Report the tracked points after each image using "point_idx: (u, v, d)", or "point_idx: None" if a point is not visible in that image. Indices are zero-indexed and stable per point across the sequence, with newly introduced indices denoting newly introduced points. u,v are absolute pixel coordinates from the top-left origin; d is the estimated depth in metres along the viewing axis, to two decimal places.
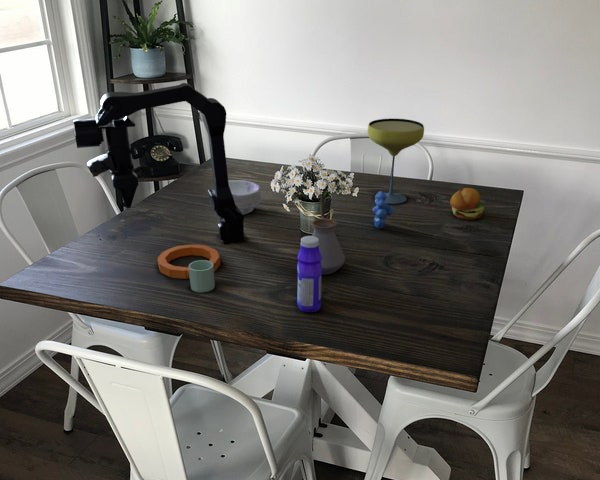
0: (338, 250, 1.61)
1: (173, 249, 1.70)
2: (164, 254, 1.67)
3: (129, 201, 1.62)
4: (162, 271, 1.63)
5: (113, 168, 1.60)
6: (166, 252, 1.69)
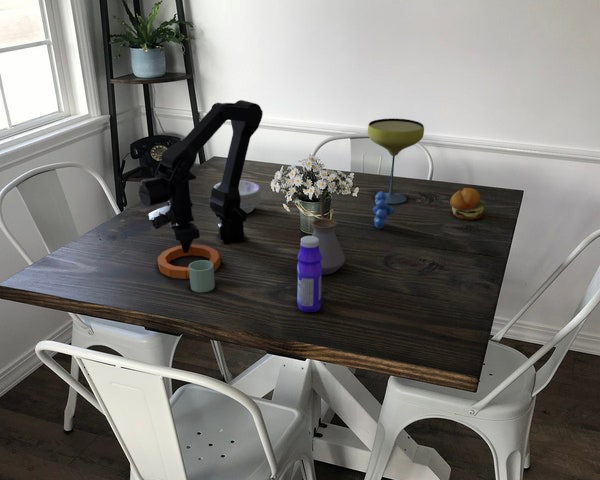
0: (338, 250, 1.61)
1: (173, 249, 1.70)
2: (164, 254, 1.67)
3: (186, 247, 1.70)
4: (162, 271, 1.63)
5: (174, 221, 1.65)
6: (166, 252, 1.69)
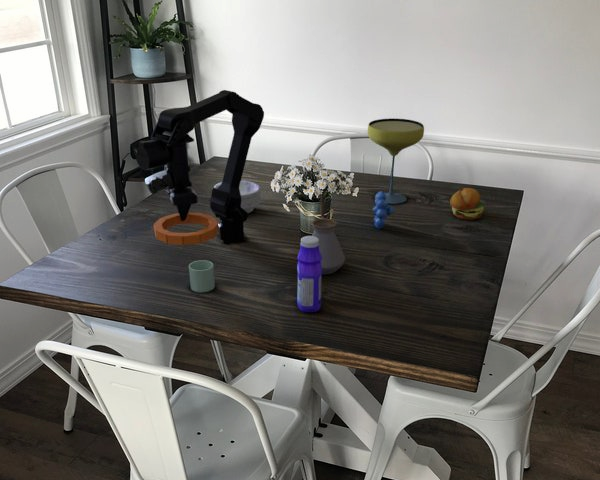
0: (338, 250, 1.61)
1: (170, 216, 1.64)
2: (161, 221, 1.61)
3: (184, 214, 1.64)
4: (158, 237, 1.56)
5: (171, 185, 1.58)
6: (163, 219, 1.62)
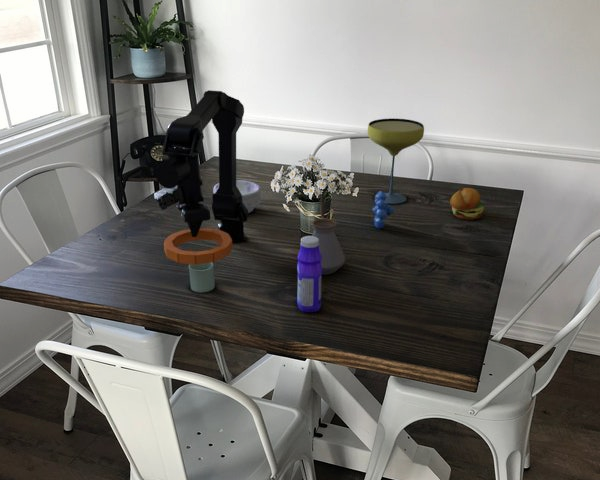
0: (338, 250, 1.61)
1: (180, 233, 1.55)
2: (171, 238, 1.52)
3: (195, 230, 1.55)
4: (169, 256, 1.47)
5: (182, 201, 1.49)
6: (173, 236, 1.53)
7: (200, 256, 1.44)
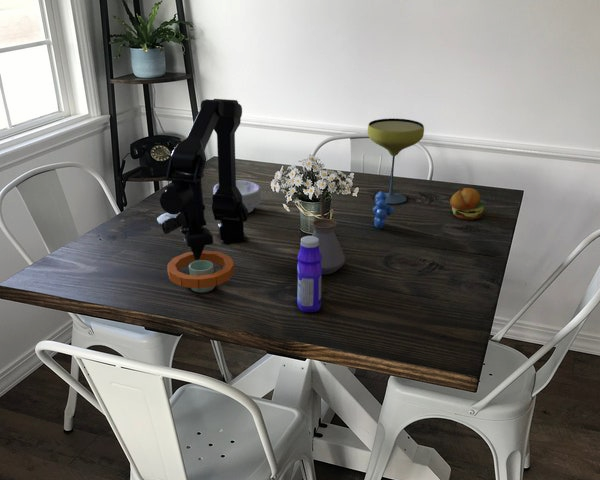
0: (338, 250, 1.61)
1: (183, 255, 1.58)
2: (174, 261, 1.55)
3: (198, 253, 1.58)
4: (172, 280, 1.50)
5: (185, 225, 1.52)
6: (176, 259, 1.56)
7: (203, 280, 1.47)
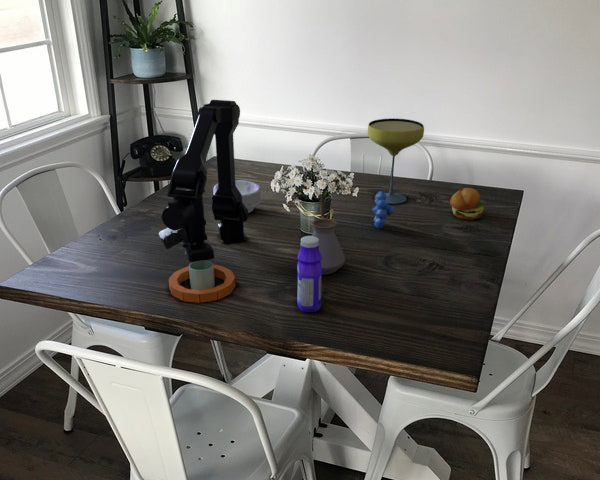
0: (338, 250, 1.61)
1: (185, 269, 1.60)
2: (175, 275, 1.57)
3: None
4: (174, 294, 1.52)
5: (187, 240, 1.54)
6: (177, 273, 1.58)
7: (204, 295, 1.49)
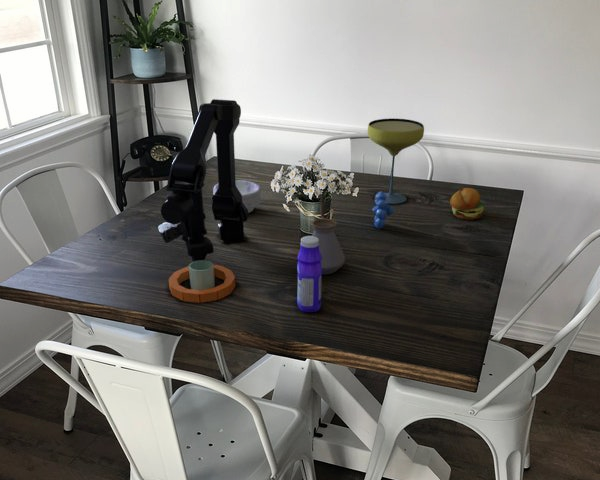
0: (338, 250, 1.61)
1: (185, 269, 1.60)
2: (175, 275, 1.57)
3: None
4: (174, 294, 1.52)
5: (186, 234, 1.53)
6: (177, 273, 1.58)
7: (204, 295, 1.49)
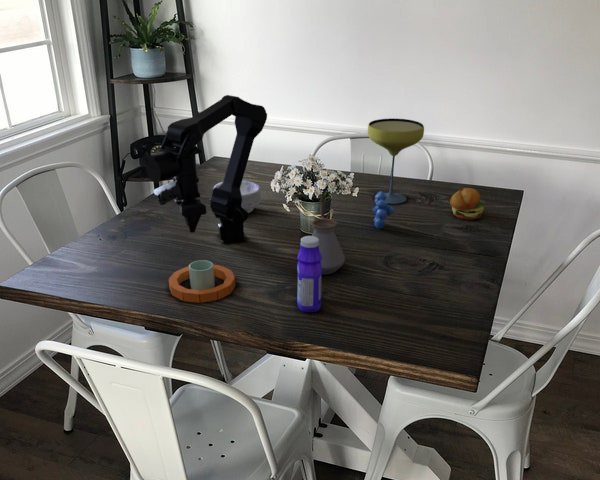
0: (338, 250, 1.61)
1: (185, 269, 1.60)
2: (175, 275, 1.57)
3: (193, 226, 1.65)
4: (174, 294, 1.52)
5: (180, 196, 1.61)
6: (177, 273, 1.58)
7: (204, 295, 1.49)
